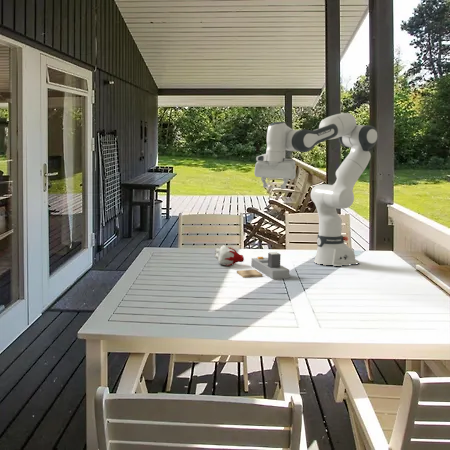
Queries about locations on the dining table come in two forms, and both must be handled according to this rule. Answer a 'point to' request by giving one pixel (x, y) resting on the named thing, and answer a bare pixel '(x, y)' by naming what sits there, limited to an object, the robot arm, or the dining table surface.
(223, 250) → the white red lumpy piece
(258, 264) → the power strip
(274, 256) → the block
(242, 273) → the cork coaster
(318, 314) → the dining table surface
